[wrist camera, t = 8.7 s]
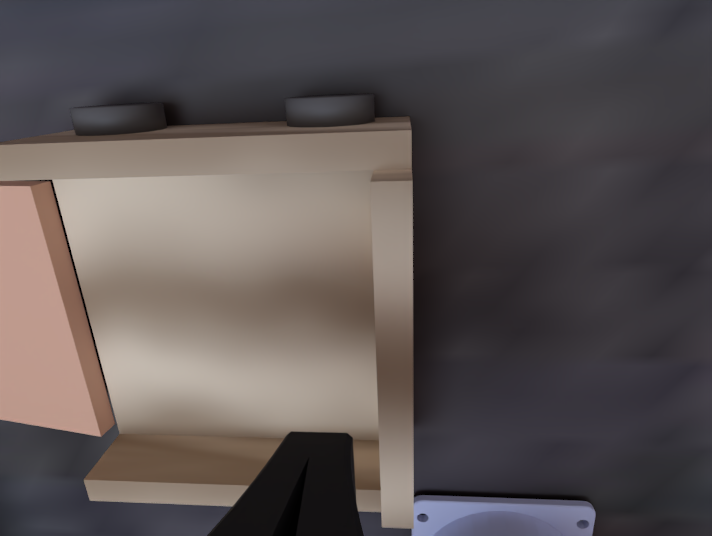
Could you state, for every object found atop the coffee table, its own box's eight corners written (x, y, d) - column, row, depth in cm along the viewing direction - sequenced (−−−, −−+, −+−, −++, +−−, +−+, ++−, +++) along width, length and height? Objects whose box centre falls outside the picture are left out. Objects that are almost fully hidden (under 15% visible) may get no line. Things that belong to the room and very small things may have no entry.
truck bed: (411, 443, 22) (413, 569, 16) (151, 436, 23) (70, 552, 17) (409, 91, 17) (412, 99, 11) (72, 106, 18) (-80, 120, 12)
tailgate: (30, 186, 16) (-105, 184, 18) (101, 436, 20) (-16, 416, 21) (50, 181, 17) (-81, 179, 18) (115, 423, 20) (1, 405, 22)
